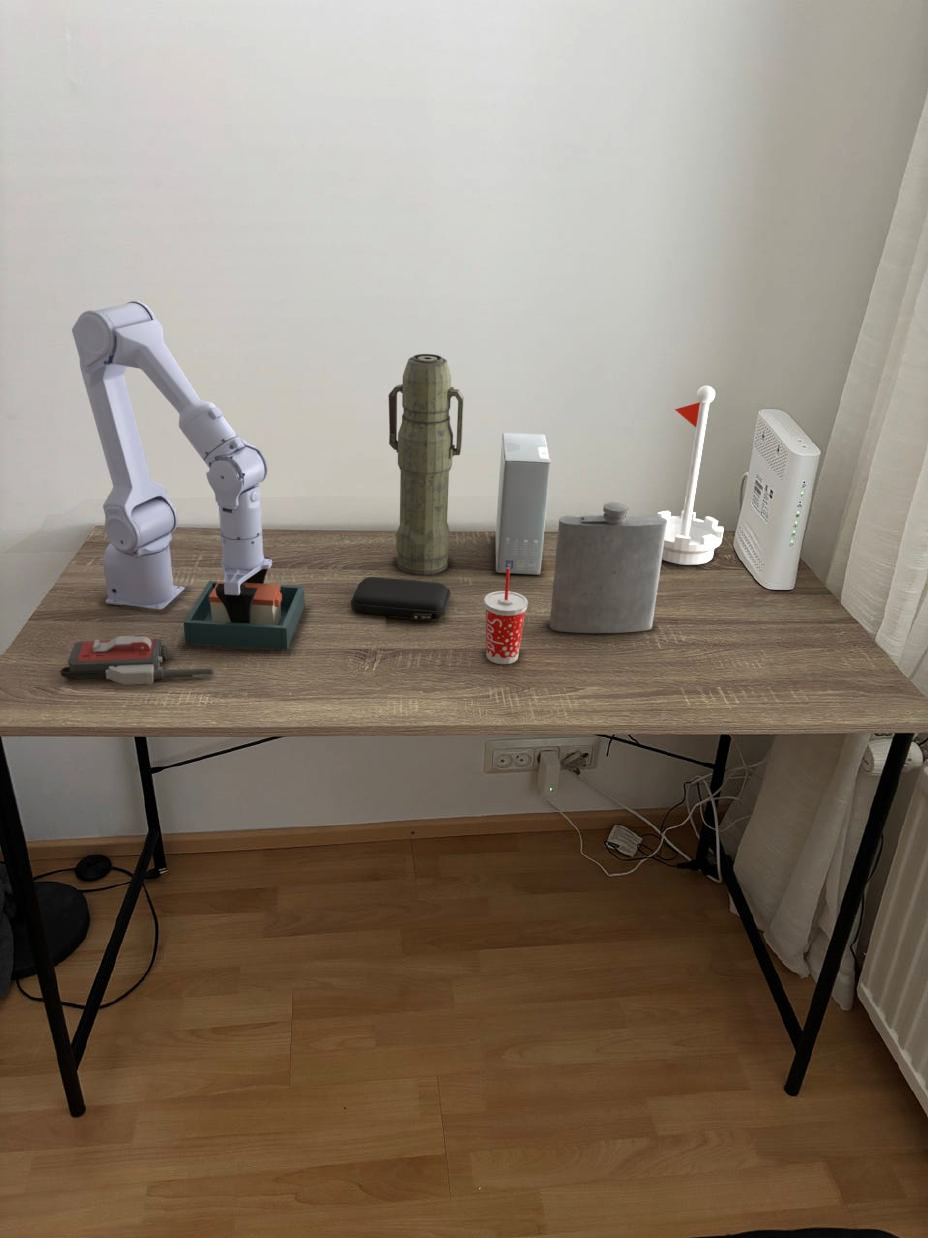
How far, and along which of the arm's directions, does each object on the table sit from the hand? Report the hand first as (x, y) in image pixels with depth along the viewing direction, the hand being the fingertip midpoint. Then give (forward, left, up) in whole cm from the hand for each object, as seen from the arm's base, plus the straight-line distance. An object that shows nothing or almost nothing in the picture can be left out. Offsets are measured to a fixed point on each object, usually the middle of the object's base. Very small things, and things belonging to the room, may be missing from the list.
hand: (247, 617), depth 151 cm
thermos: (+19, +30, -2) cm, 35 cm away
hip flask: (+51, +16, -2) cm, 53 cm away
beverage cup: (+38, +3, -2) cm, 38 cm away
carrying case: (+20, +13, -2) cm, 24 cm away
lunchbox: (0, 0, -1) cm, 1 cm away
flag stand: (+62, +49, -2) cm, 79 cm away
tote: (0, 0, -2) cm, 2 cm away
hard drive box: (+34, +38, -2) cm, 51 cm away
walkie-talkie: (-9, -16, -2) cm, 18 cm away
